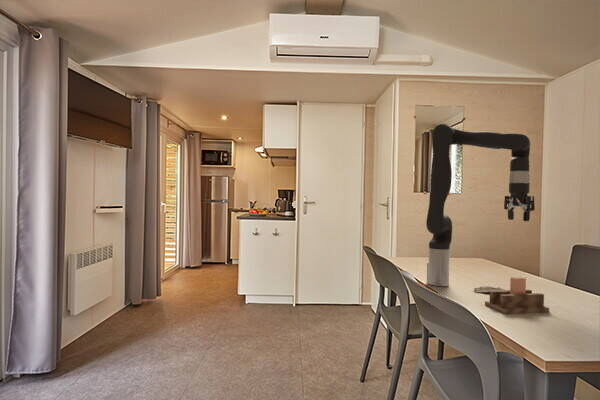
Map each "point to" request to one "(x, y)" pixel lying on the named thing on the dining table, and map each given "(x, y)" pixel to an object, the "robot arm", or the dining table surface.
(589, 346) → the dining table surface
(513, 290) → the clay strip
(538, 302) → the walnut rack
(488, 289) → the stone fragment
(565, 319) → the dining table surface
